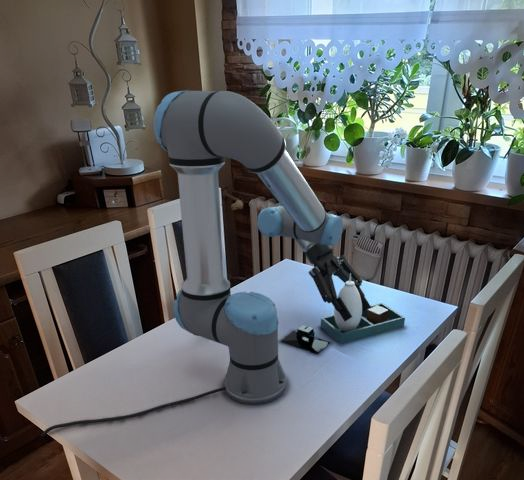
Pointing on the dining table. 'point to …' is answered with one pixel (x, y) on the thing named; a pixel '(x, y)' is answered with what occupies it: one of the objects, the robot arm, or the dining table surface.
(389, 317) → the tray
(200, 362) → the dining table surface
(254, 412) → the dining table surface
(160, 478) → the dining table surface
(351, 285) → the sauce bottle
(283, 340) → the build plate
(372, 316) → the walnut block
